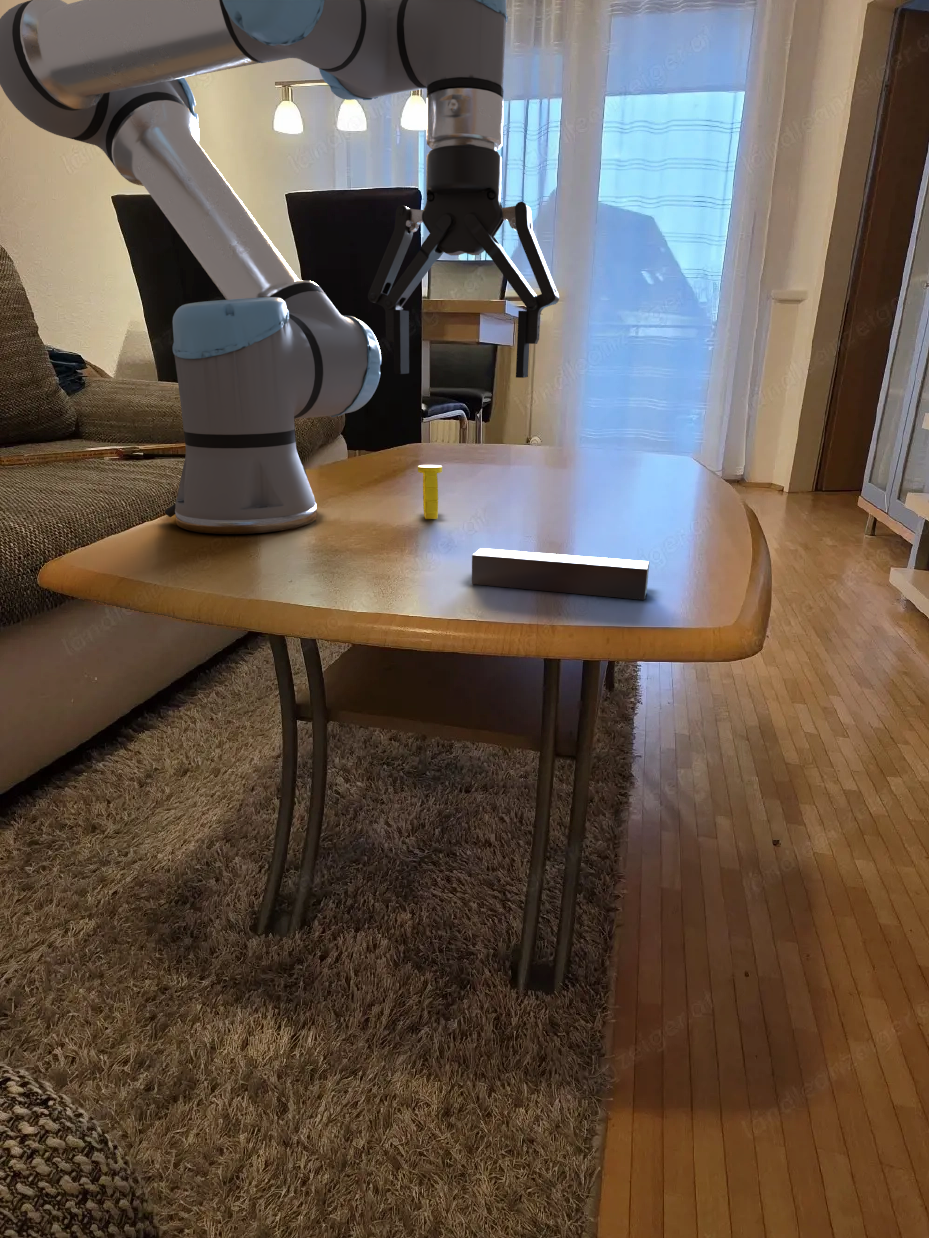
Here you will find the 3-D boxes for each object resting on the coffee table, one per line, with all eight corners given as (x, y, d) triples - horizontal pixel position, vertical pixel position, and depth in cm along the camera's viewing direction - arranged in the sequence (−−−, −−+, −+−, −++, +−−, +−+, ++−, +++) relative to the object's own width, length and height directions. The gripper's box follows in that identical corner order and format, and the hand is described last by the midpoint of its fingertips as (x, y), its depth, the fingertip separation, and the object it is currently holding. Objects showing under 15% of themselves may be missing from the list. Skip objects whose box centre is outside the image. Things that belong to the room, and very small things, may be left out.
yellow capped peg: (444, 523, 85) (444, 469, 83) (419, 523, 85) (419, 469, 83) (440, 512, 90) (440, 462, 88) (417, 512, 90) (416, 462, 88)
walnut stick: (471, 584, 62) (471, 554, 62) (479, 576, 65) (480, 547, 64) (644, 600, 59) (647, 569, 58) (646, 591, 61) (649, 561, 60)
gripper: (332, 147, 75) (340, 373, 82) (585, 134, 68) (569, 380, 76) (362, 164, 81) (367, 371, 89) (594, 154, 75) (579, 377, 82)
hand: (460, 376), depth 82 cm, fingers open, 13 cm apart
